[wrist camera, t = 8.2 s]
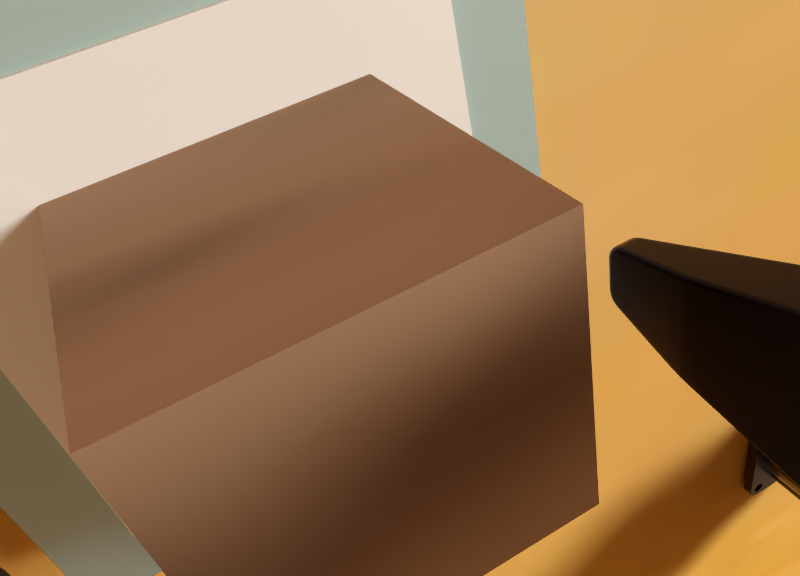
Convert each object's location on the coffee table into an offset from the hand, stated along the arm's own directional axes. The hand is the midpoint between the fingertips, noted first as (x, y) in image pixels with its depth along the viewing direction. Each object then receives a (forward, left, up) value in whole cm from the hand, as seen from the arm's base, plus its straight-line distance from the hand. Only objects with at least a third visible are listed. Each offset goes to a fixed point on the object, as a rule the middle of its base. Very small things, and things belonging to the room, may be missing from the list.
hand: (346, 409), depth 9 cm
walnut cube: (0, 0, -4) cm, 4 cm away
